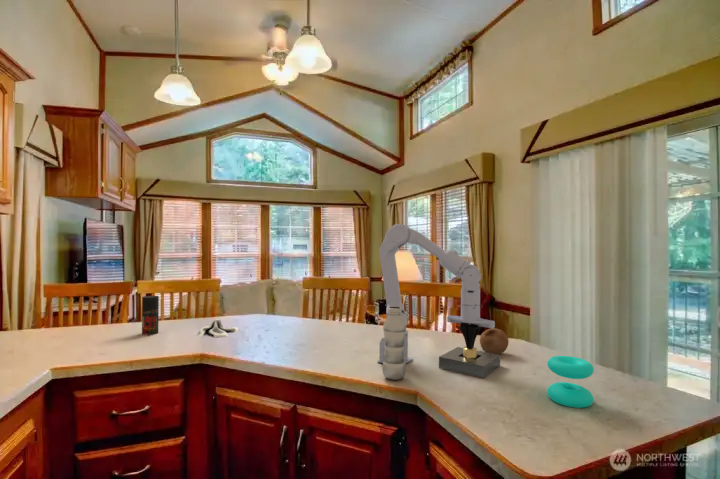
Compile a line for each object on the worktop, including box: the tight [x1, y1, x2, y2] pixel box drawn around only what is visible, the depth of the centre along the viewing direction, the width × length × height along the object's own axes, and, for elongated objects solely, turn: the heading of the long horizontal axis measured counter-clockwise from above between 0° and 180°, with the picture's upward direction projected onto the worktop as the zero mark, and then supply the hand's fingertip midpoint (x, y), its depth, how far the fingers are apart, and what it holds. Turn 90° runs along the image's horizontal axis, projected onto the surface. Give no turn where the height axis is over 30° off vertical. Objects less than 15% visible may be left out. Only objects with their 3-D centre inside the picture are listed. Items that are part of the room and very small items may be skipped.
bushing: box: [462, 346, 478, 360], centre depth 120 cm, size 4×4×6 cm
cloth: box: [194, 318, 239, 338], centre depth 162 cm, size 22×19×6 cm
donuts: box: [546, 355, 595, 409], centre depth 96 cm, size 10×10×10 cm
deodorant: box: [141, 295, 160, 336], centre depth 160 cm, size 6×6×15 cm
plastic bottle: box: [381, 306, 407, 380], centre depth 110 cm, size 6×7×20 cm
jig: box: [438, 346, 501, 379], centre depth 120 cm, size 14×14×4 cm
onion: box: [479, 327, 509, 355], centre depth 135 cm, size 10×9×10 cm
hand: (470, 348), depth 120 cm, fingers closed, pressing on bushing
